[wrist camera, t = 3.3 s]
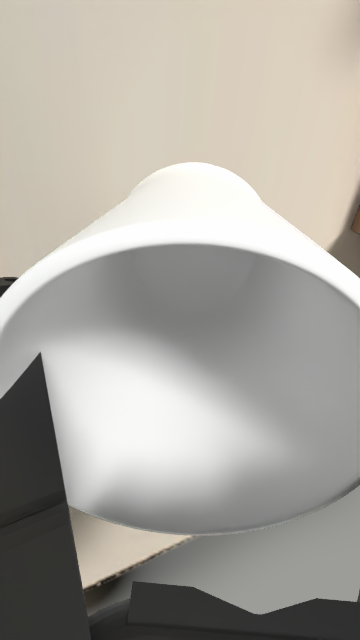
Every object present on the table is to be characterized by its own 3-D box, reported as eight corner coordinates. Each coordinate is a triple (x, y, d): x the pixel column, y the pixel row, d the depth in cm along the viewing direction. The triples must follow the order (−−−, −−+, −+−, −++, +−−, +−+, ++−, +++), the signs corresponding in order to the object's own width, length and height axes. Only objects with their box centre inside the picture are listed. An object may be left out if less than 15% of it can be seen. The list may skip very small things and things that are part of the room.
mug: (338, 286, 17) (574, 512, 6) (227, 369, 20) (262, 603, 10) (189, 117, 13) (166, -17, 3) (83, 253, 16) (-110, 434, 6)
